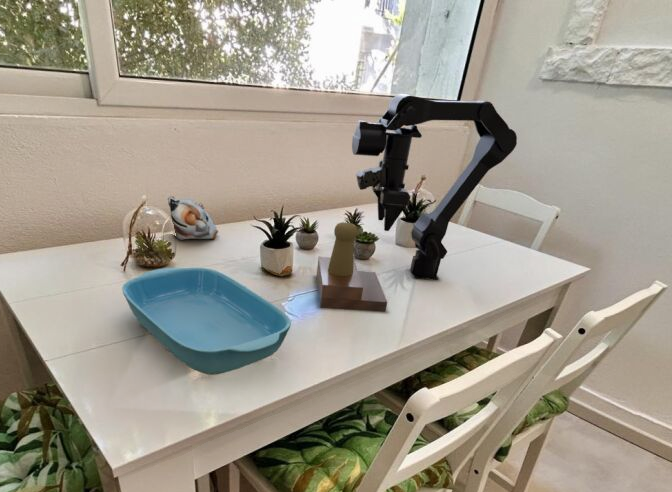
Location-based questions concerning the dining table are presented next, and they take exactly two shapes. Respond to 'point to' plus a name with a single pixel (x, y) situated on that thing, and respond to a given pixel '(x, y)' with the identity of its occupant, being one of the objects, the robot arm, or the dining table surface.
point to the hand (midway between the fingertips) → (383, 225)
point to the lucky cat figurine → (191, 220)
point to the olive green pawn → (343, 249)
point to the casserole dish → (206, 318)
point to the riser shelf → (349, 289)
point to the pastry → (284, 272)
